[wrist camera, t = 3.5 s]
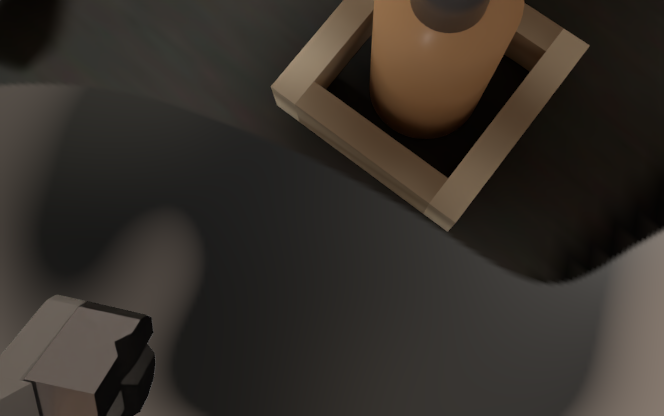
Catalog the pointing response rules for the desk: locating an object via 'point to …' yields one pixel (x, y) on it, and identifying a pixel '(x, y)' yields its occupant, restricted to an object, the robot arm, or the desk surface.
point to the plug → (436, 60)
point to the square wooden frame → (389, 155)
